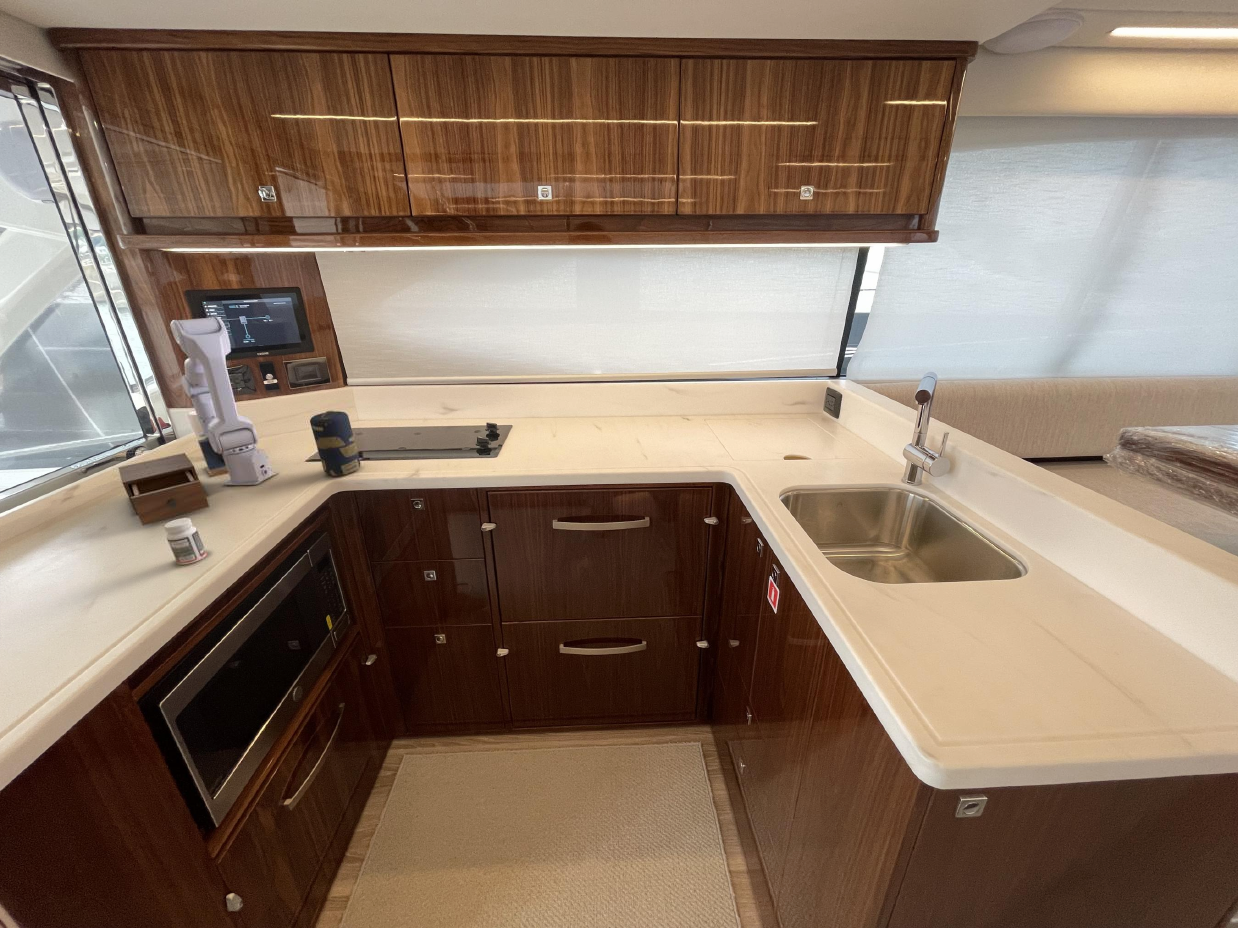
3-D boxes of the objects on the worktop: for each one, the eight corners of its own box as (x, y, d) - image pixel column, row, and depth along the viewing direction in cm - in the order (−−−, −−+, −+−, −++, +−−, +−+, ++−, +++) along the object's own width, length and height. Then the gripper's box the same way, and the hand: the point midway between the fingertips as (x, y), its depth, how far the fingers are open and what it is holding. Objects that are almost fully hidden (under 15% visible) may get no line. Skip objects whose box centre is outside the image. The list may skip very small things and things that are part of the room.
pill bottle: (196, 551, 104) (182, 515, 101) (212, 554, 103) (198, 518, 100) (171, 563, 100) (155, 526, 97) (187, 566, 99) (172, 529, 95)
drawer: (210, 507, 122) (200, 482, 119) (143, 526, 114) (131, 499, 111) (199, 491, 132) (190, 467, 130) (137, 507, 124) (126, 482, 122)
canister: (369, 467, 146) (354, 407, 140) (342, 479, 138) (326, 416, 131) (344, 464, 149) (328, 405, 143) (316, 476, 141) (299, 414, 134)
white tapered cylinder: (216, 460, 157) (199, 414, 152) (198, 460, 158) (181, 414, 153) (235, 453, 163) (219, 408, 158) (218, 452, 165) (202, 408, 159)
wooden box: (205, 496, 131) (193, 465, 128) (136, 514, 122) (122, 482, 119) (195, 481, 141) (184, 452, 138) (131, 497, 132) (118, 467, 129)
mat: (251, 466, 151) (251, 465, 151) (211, 476, 144) (210, 475, 144) (244, 459, 157) (244, 458, 157) (205, 468, 151) (204, 467, 151)
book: (245, 461, 152) (237, 434, 149) (209, 470, 146) (199, 442, 143) (243, 458, 154) (234, 432, 151) (207, 467, 148) (197, 440, 145)
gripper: (189, 415, 147) (205, 458, 152) (197, 424, 137) (213, 469, 142) (218, 410, 152) (232, 451, 157) (228, 418, 142) (243, 462, 147)
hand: (225, 459), depth 150 cm, fingers closed on book, 3 cm apart
